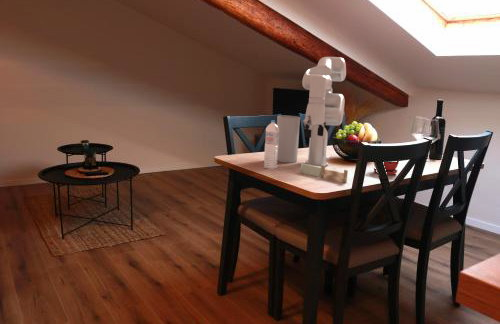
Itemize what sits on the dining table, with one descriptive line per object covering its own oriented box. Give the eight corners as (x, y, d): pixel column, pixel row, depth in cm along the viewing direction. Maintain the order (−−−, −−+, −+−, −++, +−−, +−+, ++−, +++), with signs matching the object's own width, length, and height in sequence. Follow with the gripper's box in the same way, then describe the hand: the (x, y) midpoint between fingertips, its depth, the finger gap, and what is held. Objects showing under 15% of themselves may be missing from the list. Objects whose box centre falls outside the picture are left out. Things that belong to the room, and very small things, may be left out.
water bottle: (260, 168, 216) (263, 119, 210) (270, 166, 220) (273, 119, 215) (269, 171, 211) (272, 121, 205) (279, 169, 215) (282, 120, 210)
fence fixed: (319, 177, 199) (320, 165, 198) (321, 177, 200) (323, 164, 199) (345, 183, 190) (346, 170, 188) (347, 183, 191) (348, 170, 190)
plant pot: (392, 170, 224) (394, 148, 222) (401, 176, 212) (404, 153, 209) (367, 169, 224) (370, 147, 222) (375, 175, 211) (378, 152, 209)
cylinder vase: (297, 163, 231) (301, 118, 226) (275, 162, 231) (277, 117, 226) (295, 159, 243) (299, 116, 238) (274, 158, 243) (276, 115, 238)
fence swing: (321, 176, 200) (321, 167, 199) (319, 177, 199) (319, 167, 198) (301, 172, 208) (302, 163, 207) (299, 172, 207) (300, 163, 206)
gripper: (321, 100, 210) (318, 134, 214) (299, 101, 198) (296, 136, 202) (333, 101, 205) (330, 136, 208) (311, 102, 193) (309, 139, 196)
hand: (314, 136), depth 205 cm, fingers open, 9 cm apart
